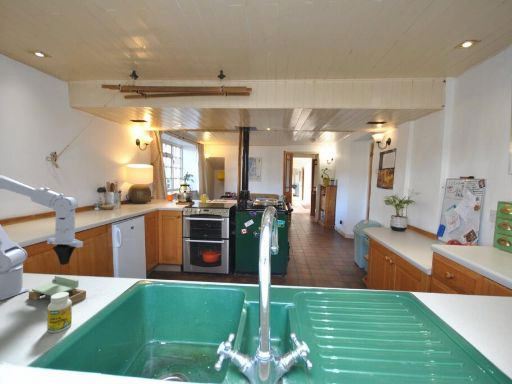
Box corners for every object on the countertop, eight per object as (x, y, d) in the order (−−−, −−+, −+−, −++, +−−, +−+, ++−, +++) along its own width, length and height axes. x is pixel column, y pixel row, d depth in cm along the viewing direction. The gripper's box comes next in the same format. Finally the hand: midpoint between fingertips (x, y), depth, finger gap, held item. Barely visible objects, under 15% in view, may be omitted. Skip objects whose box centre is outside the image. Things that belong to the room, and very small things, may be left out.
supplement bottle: (72, 320, 71) (73, 289, 71) (70, 329, 66) (71, 296, 66) (48, 325, 68) (49, 293, 68) (45, 335, 63) (45, 301, 63)
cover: (29, 290, 81) (30, 282, 81) (57, 280, 90) (57, 273, 89) (54, 296, 78) (54, 289, 78) (80, 286, 86) (80, 279, 86)
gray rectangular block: (45, 299, 82) (45, 293, 82) (51, 296, 84) (51, 290, 84) (66, 301, 82) (66, 294, 82) (72, 297, 84) (72, 291, 84)
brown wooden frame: (28, 298, 82) (28, 290, 82) (54, 288, 90) (54, 280, 90) (65, 307, 77) (65, 298, 77) (89, 296, 85) (89, 288, 85)
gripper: (38, 228, 86) (37, 265, 86) (70, 232, 83) (69, 270, 83) (58, 225, 93) (57, 259, 93) (88, 228, 90) (87, 263, 90)
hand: (64, 264), depth 89 cm, fingers closed
